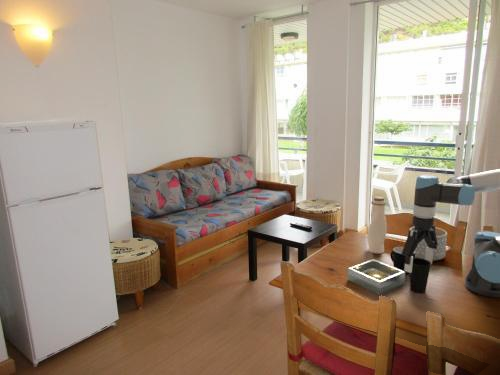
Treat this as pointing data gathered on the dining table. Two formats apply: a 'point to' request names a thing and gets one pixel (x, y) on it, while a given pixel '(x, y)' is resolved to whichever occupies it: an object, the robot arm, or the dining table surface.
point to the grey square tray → (376, 276)
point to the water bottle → (377, 226)
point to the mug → (399, 259)
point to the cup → (419, 275)
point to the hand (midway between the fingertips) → (418, 267)
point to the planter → (438, 252)
